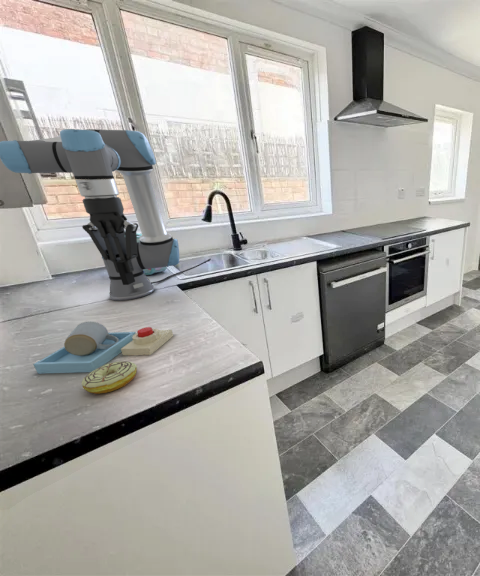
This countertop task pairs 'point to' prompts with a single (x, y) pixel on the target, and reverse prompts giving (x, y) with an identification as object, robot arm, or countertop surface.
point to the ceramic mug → (88, 339)
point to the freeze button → (145, 332)
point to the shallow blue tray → (83, 357)
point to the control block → (147, 343)
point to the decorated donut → (109, 377)
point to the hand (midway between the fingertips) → (129, 283)
